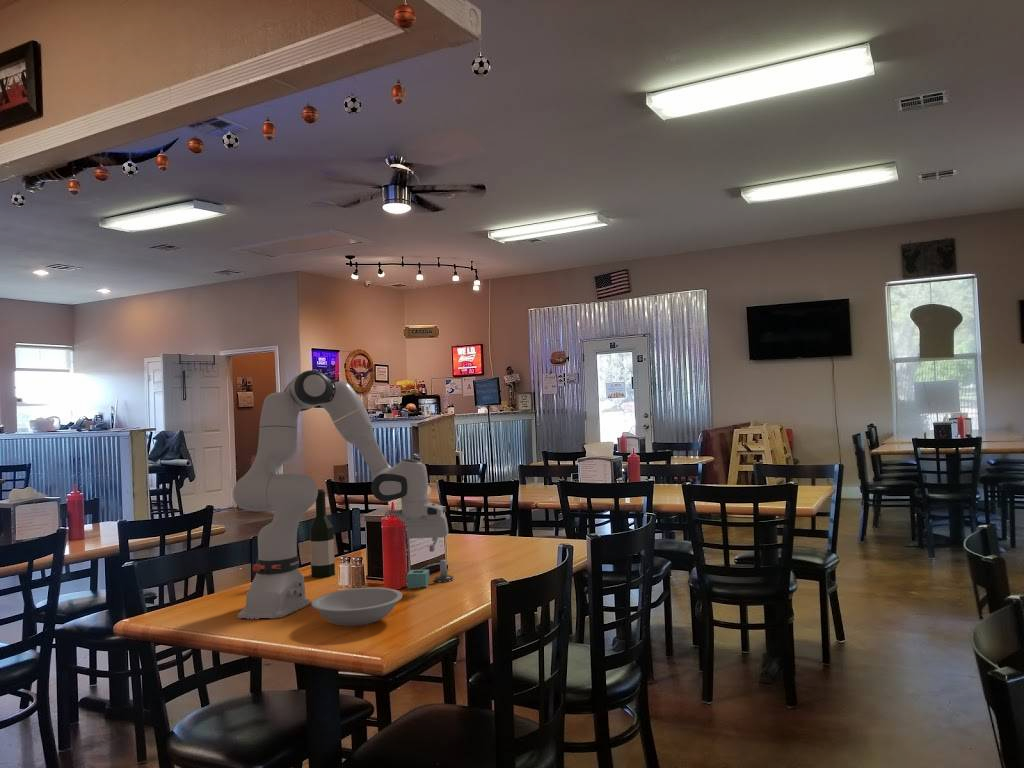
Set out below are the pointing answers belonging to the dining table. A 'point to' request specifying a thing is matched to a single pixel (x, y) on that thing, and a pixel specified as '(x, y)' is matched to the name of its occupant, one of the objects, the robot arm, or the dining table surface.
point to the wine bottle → (321, 541)
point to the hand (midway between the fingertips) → (417, 551)
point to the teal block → (418, 578)
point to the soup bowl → (357, 605)
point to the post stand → (443, 572)
